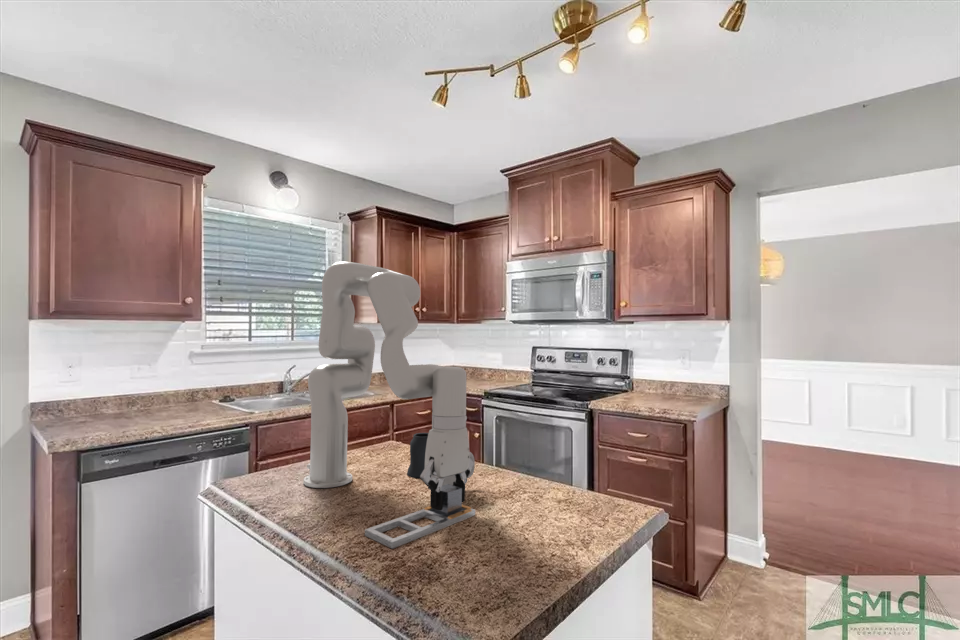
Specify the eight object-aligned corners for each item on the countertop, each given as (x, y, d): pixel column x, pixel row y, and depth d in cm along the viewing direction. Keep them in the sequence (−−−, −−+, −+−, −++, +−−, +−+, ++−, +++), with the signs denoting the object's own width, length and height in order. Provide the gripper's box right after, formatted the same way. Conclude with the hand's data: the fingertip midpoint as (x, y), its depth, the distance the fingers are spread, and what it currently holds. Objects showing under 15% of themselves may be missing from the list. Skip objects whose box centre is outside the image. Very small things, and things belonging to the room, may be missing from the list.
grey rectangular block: (433, 516, 104) (433, 488, 104) (447, 510, 108) (447, 483, 108) (447, 521, 101) (447, 492, 102) (461, 515, 105) (461, 488, 105)
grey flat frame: (364, 535, 93) (364, 528, 93) (447, 505, 110) (447, 499, 111) (392, 548, 88) (392, 541, 88) (475, 515, 105) (475, 508, 105)
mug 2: (419, 480, 130) (419, 439, 130) (400, 473, 137) (401, 434, 137) (452, 472, 138) (453, 433, 139) (433, 466, 145) (434, 429, 145)
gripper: (463, 416, 114) (462, 491, 113) (407, 425, 101) (406, 510, 101) (487, 420, 109) (486, 499, 109) (431, 430, 96) (430, 520, 96)
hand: (447, 503), depth 105 cm, fingers open, 6 cm apart
